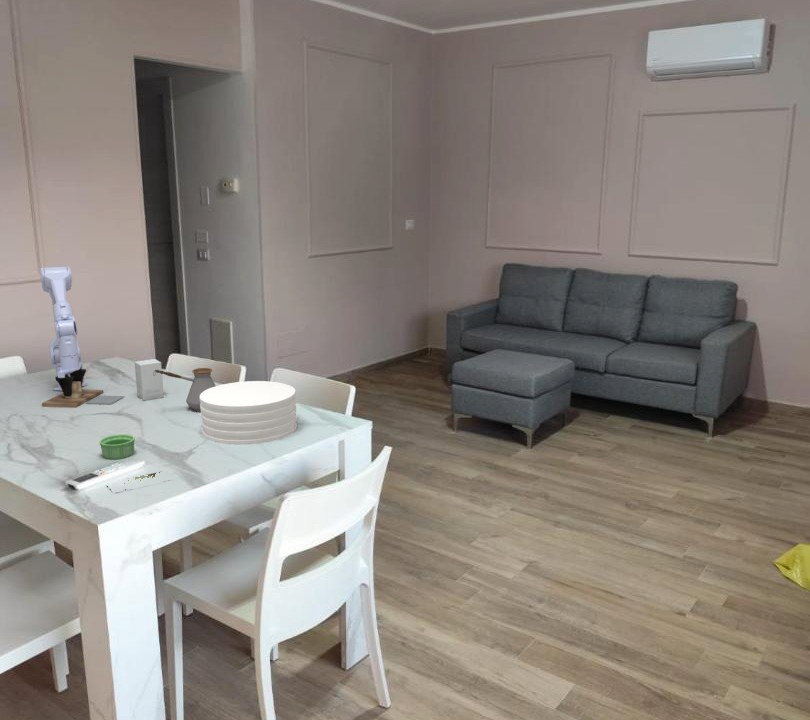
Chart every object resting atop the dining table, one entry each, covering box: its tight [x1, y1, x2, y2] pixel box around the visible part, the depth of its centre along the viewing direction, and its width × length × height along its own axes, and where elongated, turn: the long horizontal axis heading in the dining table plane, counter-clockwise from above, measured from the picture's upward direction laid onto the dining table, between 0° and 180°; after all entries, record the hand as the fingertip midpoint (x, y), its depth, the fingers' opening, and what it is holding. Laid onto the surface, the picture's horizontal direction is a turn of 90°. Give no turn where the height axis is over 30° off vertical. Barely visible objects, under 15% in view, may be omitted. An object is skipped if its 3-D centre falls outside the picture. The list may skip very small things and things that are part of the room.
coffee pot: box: [153, 367, 217, 412], centre depth 240 cm, size 21×12×15 cm, turn 122°
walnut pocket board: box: [41, 388, 104, 408], centre depth 255 cm, size 18×12×1 cm, turn 173°
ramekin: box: [99, 434, 136, 460], centre depth 201 cm, size 9×9×4 cm
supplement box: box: [134, 358, 165, 401], centre depth 256 cm, size 7×7×13 cm
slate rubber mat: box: [85, 395, 125, 405], centre depth 254 cm, size 9×9×1 cm
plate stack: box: [200, 380, 298, 445], centre depth 222 cm, size 28×28×12 cm
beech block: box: [65, 381, 82, 399], centre depth 254 cm, size 4×4×6 cm
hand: (73, 393), depth 254 cm, fingers open, 7 cm apart
